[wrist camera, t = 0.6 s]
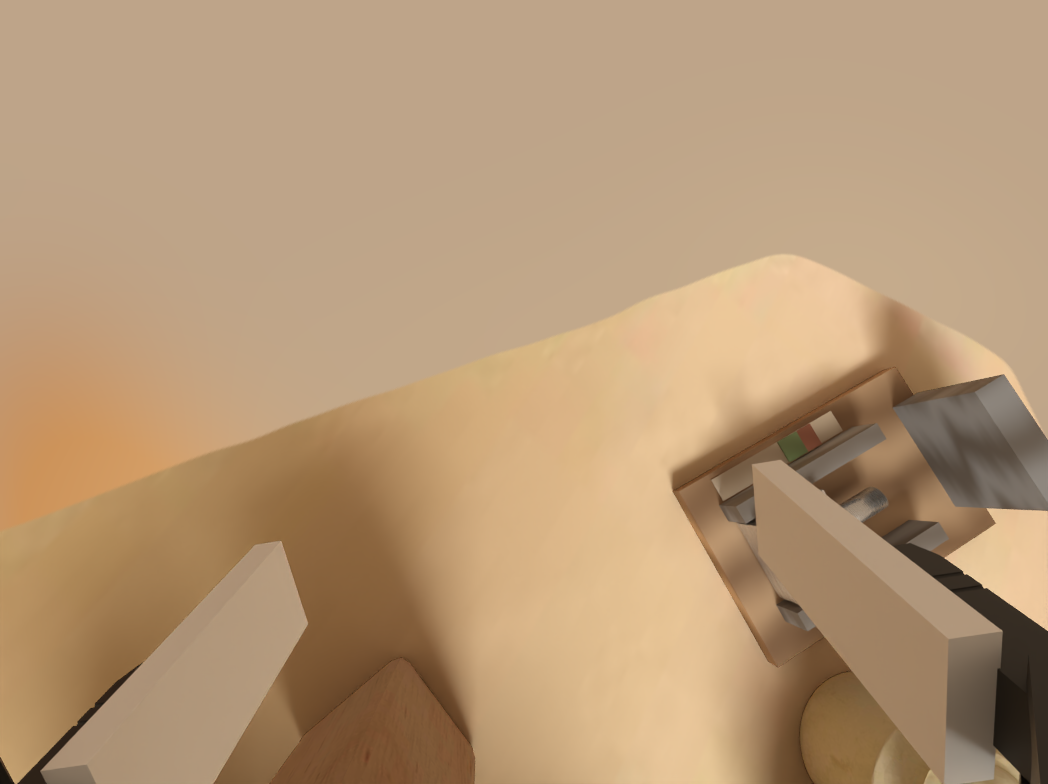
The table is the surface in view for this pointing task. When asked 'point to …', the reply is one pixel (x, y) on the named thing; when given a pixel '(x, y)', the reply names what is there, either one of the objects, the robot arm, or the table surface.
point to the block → (383, 738)
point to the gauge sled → (858, 506)
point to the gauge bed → (877, 481)
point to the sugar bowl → (865, 741)
